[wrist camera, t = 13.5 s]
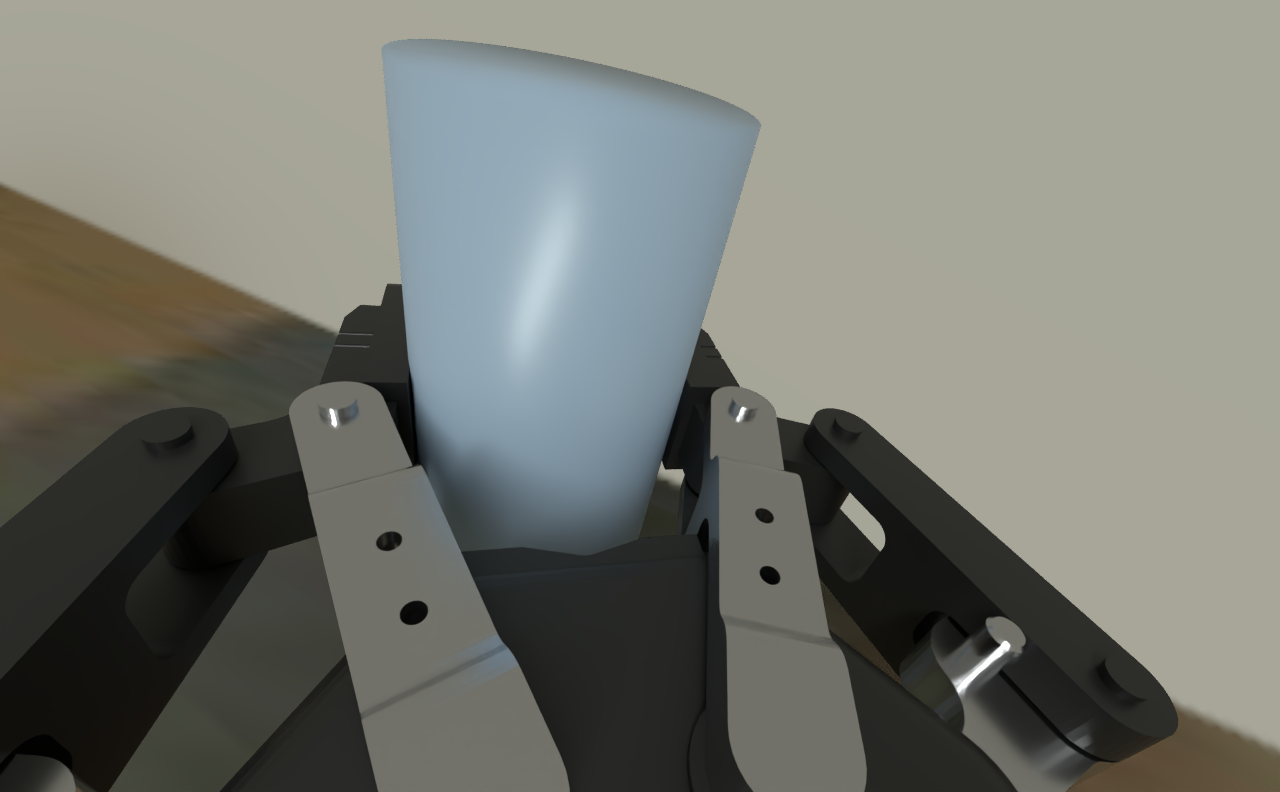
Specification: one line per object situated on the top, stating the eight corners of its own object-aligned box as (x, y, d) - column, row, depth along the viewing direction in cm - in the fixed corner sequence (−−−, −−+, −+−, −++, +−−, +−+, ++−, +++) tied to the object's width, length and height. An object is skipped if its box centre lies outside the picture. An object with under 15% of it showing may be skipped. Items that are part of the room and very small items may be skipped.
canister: (595, 546, 18) (698, 82, 10) (622, 700, 14) (826, 159, 6) (439, 557, 17) (407, 26, 8) (424, 731, 13) (342, 80, 5)
